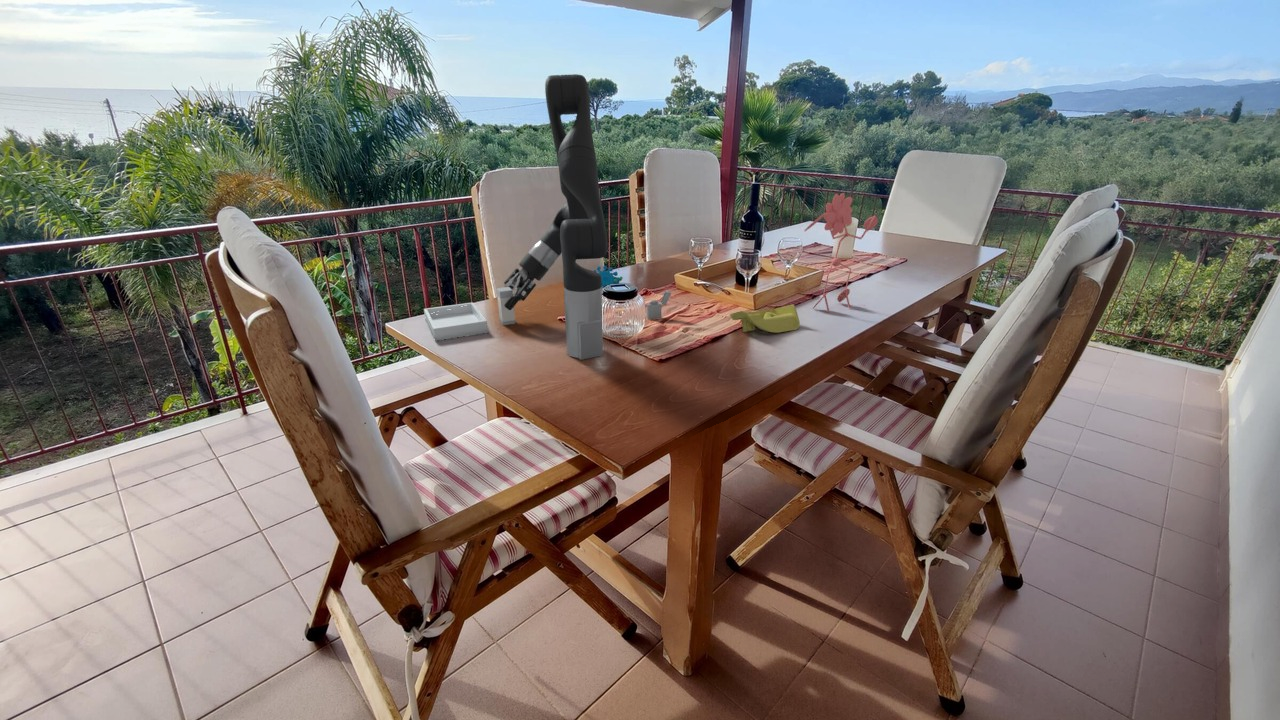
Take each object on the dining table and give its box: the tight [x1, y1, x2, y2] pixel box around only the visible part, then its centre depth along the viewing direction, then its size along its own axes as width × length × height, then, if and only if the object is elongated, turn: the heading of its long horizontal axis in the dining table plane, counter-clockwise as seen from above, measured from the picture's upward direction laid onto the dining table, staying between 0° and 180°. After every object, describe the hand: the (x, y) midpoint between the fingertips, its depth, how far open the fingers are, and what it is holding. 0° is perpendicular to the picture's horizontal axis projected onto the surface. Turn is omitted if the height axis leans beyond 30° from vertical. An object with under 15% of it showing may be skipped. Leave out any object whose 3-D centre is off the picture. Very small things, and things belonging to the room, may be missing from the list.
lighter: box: [646, 289, 672, 320], centre depth 163 cm, size 7×2×8 cm, turn 106°
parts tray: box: [423, 302, 489, 342], centre depth 154 cm, size 18×14×4 cm
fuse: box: [496, 286, 516, 326], centre depth 156 cm, size 4×4×10 cm
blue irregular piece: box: [593, 265, 624, 289], centre depth 191 cm, size 11×6×10 cm
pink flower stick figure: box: [794, 192, 879, 313], centre depth 170 cm, size 15×26×35 cm, turn 118°
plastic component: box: [729, 304, 801, 334], centre depth 156 cm, size 20×7×10 cm
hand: (503, 303), depth 156 cm, fingers open, 8 cm apart
